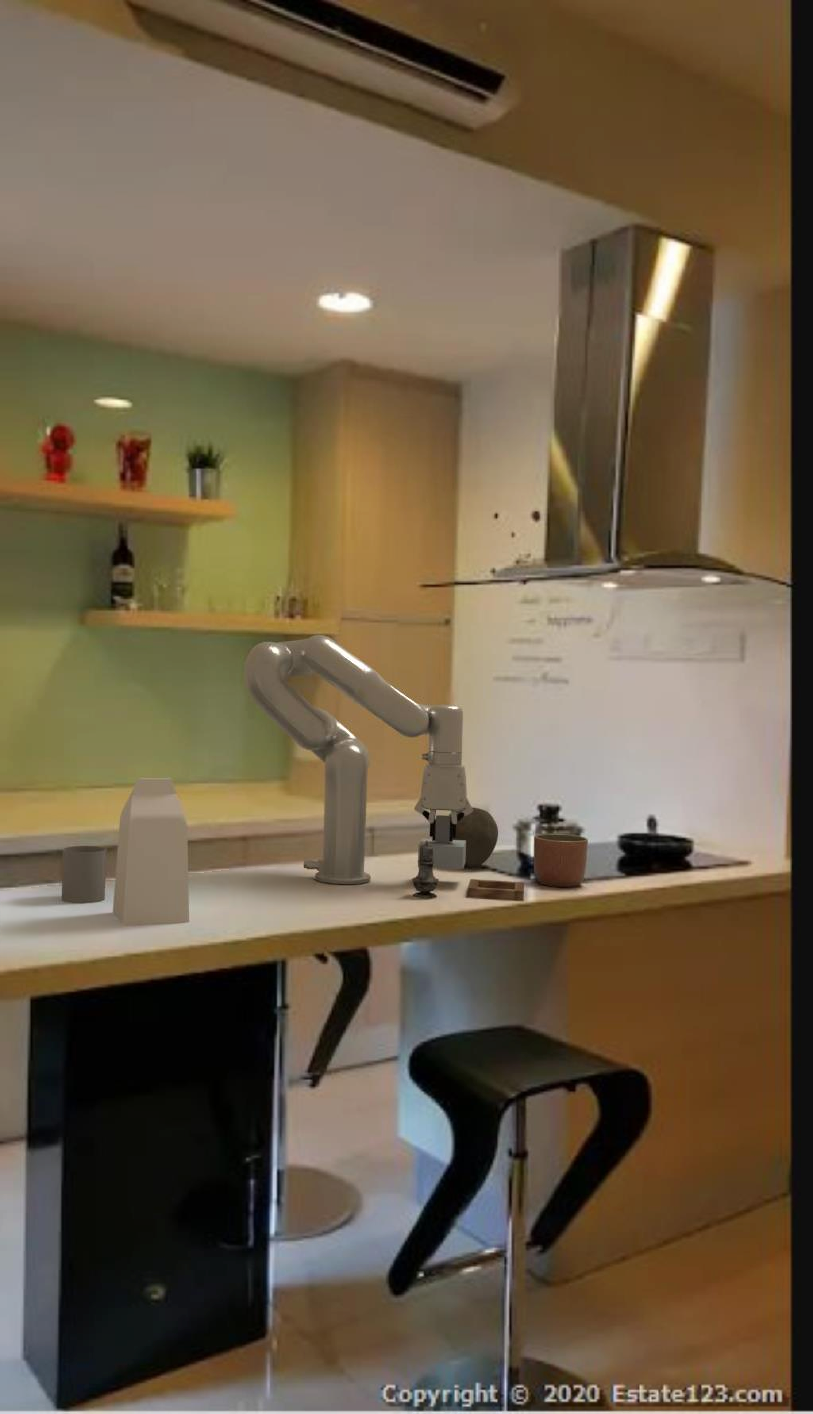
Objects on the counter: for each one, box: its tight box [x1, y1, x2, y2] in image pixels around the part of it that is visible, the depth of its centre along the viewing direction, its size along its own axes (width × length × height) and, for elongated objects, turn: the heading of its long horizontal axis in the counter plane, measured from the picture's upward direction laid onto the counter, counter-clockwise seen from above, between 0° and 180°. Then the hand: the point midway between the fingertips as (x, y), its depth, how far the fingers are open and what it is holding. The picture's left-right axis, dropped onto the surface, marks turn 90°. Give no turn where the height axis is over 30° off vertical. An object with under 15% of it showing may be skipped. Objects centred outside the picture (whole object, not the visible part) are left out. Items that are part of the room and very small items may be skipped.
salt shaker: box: [411, 841, 440, 900], centre depth 240 cm, size 6×6×12 cm
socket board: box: [466, 878, 525, 902], centre depth 245 cm, size 12×11×2 cm
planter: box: [533, 833, 589, 888], centre depth 260 cm, size 12×12×11 cm
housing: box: [417, 814, 466, 870], centre depth 254 cm, size 10×10×11 cm
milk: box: [112, 777, 190, 927], centre depth 209 cm, size 12×12×26 cm
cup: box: [61, 845, 107, 905], centre depth 223 cm, size 8×8×10 cm
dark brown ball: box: [448, 806, 499, 869], centre depth 279 cm, size 14×14×15 cm
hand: (442, 839), depth 254 cm, fingers closed on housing, 3 cm apart
